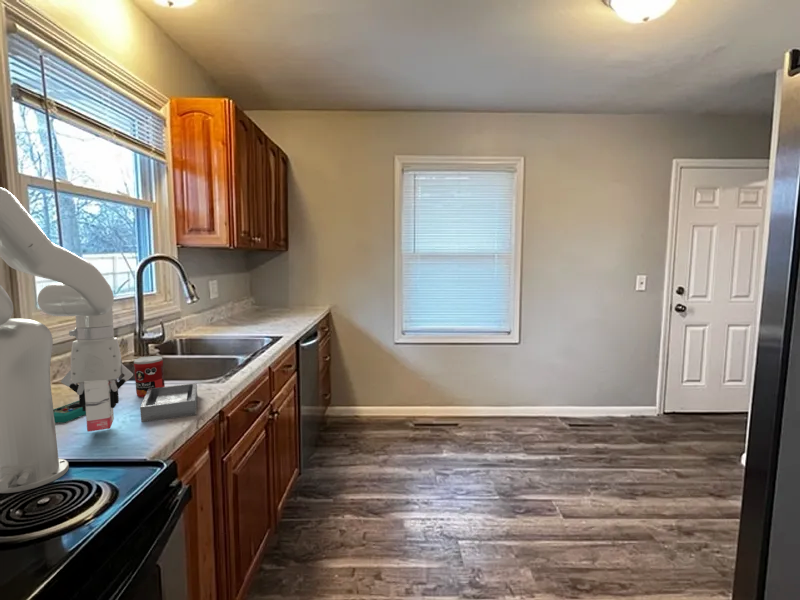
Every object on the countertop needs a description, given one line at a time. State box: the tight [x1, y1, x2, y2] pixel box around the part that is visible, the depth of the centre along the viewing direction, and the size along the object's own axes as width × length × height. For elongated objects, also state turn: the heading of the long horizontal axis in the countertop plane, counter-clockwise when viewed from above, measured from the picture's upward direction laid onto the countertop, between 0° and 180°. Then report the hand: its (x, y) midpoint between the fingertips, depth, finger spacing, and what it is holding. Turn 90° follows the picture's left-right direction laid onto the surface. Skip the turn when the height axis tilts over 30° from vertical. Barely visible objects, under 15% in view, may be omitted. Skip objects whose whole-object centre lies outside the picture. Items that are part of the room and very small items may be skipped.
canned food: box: [133, 355, 166, 398], centre depth 146 cm, size 8×8×11 cm
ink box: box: [84, 380, 115, 433], centre depth 115 cm, size 9×5×12 cm, turn 26°
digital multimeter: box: [53, 400, 86, 424], centre depth 131 cm, size 7×15×3 cm, turn 165°
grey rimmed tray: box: [139, 382, 198, 423], centre depth 133 cm, size 18×13×4 cm
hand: (99, 407), depth 115 cm, fingers closed on ink box, 5 cm apart
